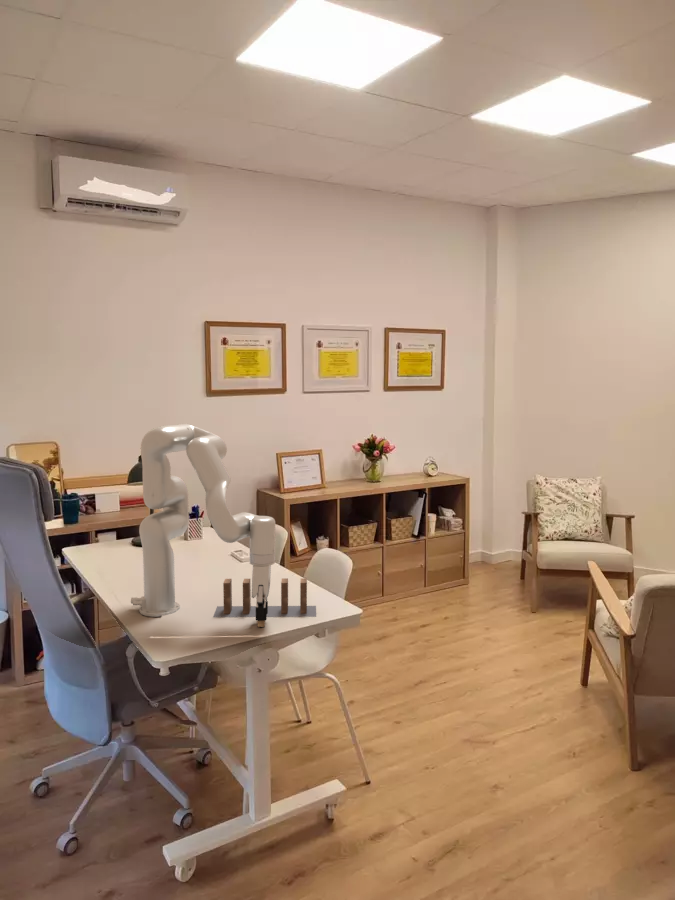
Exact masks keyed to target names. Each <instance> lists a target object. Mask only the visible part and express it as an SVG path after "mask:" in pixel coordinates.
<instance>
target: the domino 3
mask: <svg viewBox="0 0 675 900" xmlns="http://www.w3.org/2000/svg"><path fill="white" fill-rule="evenodd" d="M263 597H265V594H264V595H263ZM263 601H264V599H263ZM265 625H266V621H257V628H265Z"/></svg>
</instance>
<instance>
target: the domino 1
mask: <svg viewBox="0 0 675 900" xmlns="http://www.w3.org/2000/svg"><path fill="white" fill-rule="evenodd" d="M222 584H223V586H222V587H223V588H222V589H223V606H224V614H230V613H231V610H232V606H233V605H232V604H233V603H232V602H233V601H232V600H233V599H232V597H233V596H232V595H233V594H232V593H233V591H232V590H233V588H232V587H233V586H232V578H224V581H223V583H222Z"/></svg>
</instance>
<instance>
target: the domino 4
mask: <svg viewBox="0 0 675 900" xmlns="http://www.w3.org/2000/svg"><path fill="white" fill-rule="evenodd" d="M280 585H281V587H280V590H281V591H280V594H281V595H280V599H281V600H280V602H281V604H280V606H281V614H288V606H289V578H281V581H280Z"/></svg>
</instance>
